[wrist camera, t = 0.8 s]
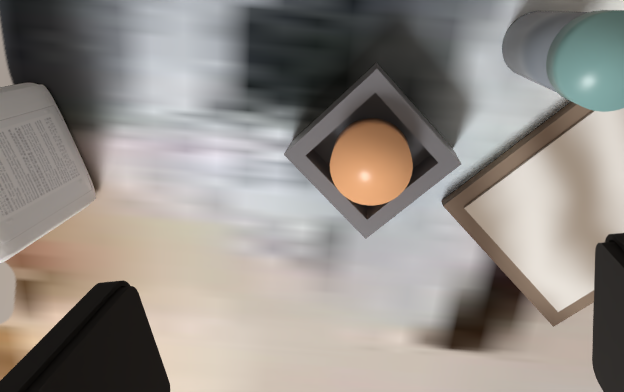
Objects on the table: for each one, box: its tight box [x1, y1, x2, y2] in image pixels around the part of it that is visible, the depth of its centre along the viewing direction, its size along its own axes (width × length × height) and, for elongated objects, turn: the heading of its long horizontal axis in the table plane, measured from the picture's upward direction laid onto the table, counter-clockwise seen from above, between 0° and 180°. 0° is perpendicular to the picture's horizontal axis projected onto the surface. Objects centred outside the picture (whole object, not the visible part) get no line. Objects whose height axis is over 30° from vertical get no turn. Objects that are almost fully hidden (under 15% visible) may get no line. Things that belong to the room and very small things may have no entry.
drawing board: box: [442, 102, 624, 327], centre depth 34 cm, size 14×13×1 cm
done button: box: [330, 118, 413, 205], centre depth 31 cm, size 5×5×2 cm
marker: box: [502, 10, 624, 112], centre depth 26 cm, size 4×4×11 cm
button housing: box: [284, 63, 461, 239], centre depth 33 cm, size 8×8×4 cm
